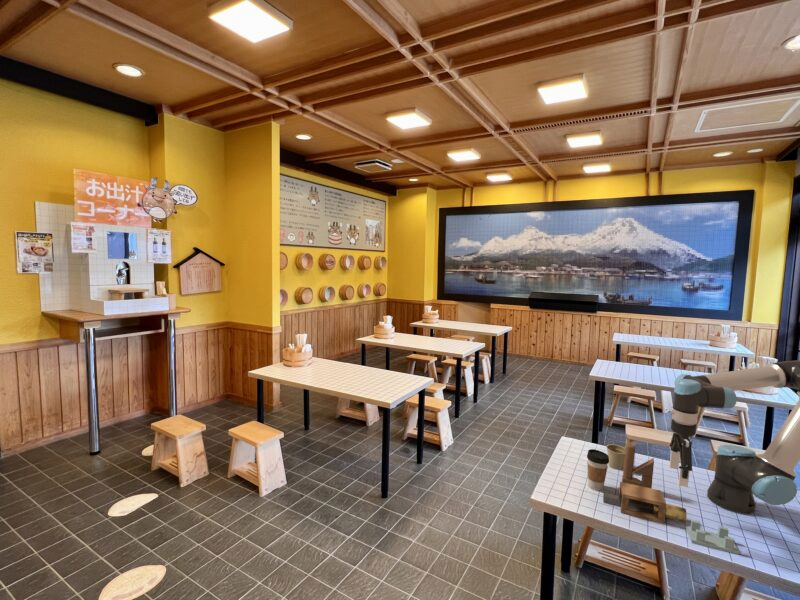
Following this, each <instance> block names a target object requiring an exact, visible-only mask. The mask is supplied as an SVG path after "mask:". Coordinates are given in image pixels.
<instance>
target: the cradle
mask: <svg viewBox="0 0 800 600" xmlns="http://www.w3.org/2000/svg"><path fill="white" fill-rule="evenodd" d="M685 531H686V533H687V535H688V537H689V540H690V542H691V544H696V545H698V546H699V545H700V546H703V547H707V548H711V549H714V550H719V551H723V552H727V553H730V552H731V554H735V555H740V551H739V549H738V548H737V546H736V544H735V543H736V542H735V541H736V540H735V538H733V537H732V536H729V531H730V530H729V529H728V527H725V526H721V525H718V529H717V533H716V532H711V531H707V530H703V529H701V522H700V521H698V520H694V519H691V520H690V526H685Z"/></svg>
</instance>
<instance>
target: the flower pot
mask: <svg viewBox="0 0 800 600" xmlns="http://www.w3.org/2000/svg"><path fill="white" fill-rule="evenodd" d="M605 447H606V452H607V455H608V456H609V463H608V464H607V465H608V466H609V467H610V468H612V469H614V470H617V469H618V470H624V458H625V447H624V446H621V445H618V444H607V445H606V446H605Z"/></svg>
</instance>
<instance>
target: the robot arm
mask: <svg viewBox="0 0 800 600" xmlns="http://www.w3.org/2000/svg"><path fill="white" fill-rule="evenodd" d="M768 387H773V388H776V389H783V388H789V389H794V390H797V392H796V394H797V396H798V397H799V399H798V401H797V402H796V403H795V405H794V407H793V408H792V410H791V411H790V413H789V414H788V416H787V418H786V419H785V421H784V422H783V424H781V427H780V428H779V430H778V432H777V433H776V434H775V436H774V438H773V439H772V441H771V442H770V443H769V445H768V447H767V448H766V450H765V451H764V453H760V454H756V451H754V450H752V449H750V448H747V447H743V446H740V445H733V444H722V445H720V446H718V448H717V451H716V459H715V460H716V461H715V467H714V468H715V470H714V478H713V480H712V482H711V483H710V485H709V486H708V488H707V493H706V497H707V499H708V500H709V501H711V502H712V503H713V504H716V505H717V506H719V507H720V508H722V509H726V510H728V511H731V512H735V513H738V514H746V515H747V514H748V515H749V514H754V513H755V512H756V507H757V505H756V502H755V498H757V499H758V500H761V501H763V502H764V503H766V504H769V505H771V506H772V505H773V506H780V505H787V504H788V503H791V502H792V501H793V500H794V499H795V497H796V496H797V493H798V489H797V488H798V487H797V483H795V482H794V481H795V479H796V477H797V475H796V472H795V468H796V466H797V465H798V463H799V461H800V360H796V359H795V360H786V361H776V362H771V363H766V364H765V365H764V366H759V367H753V368H746V369H740V370H739V369H737V370H731V371H724V372H717V373H709V374H702V375H690V374H686V373H683V374H679V375H677V377H676V378H675V380H674V389H673V393H674V394H673V403H672V404H673V405H672V410H670V414H671V418H672V419H671V420H670V421H671V422H670V429H671V431H672V437H671V441H670V443H669V446H670V450H671V451H670V458H669V468H670V469H673V470H679V474H678V483H677V484H678V485H677V486H678V487H679V486H680V487H685V488H688V487H689V480H690V479H689V478H690V472H693V459H692V446H693V445H692V444H693V442H692V441H691V439H690V438H689V437H690V436H695V435H696V433H697V424H698V417H699V408H708V409H709V408H710V409H711V408H712V409H721V410H723V409H732V408H734V407H735V406H736V405H737V400H738V399H737V394H736V393H735V392H737V391H745V390H753V389H760V388H768ZM754 497H755V498H754Z"/></svg>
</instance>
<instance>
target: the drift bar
mask: <svg viewBox="0 0 800 600" xmlns="http://www.w3.org/2000/svg"><path fill="white" fill-rule="evenodd" d="M602 500H603V501H602V502H603V503H604V504H608V505H611V506H616V507H620V508H621V502H622V497H620V496H619V495H615V494H612V493H607V492H603V496H602ZM628 509H632V510H636V511H641V512H645V513H649V514H653V513H654V507H653V504H649V503H645V502H641V501H637V500H633V499H628Z"/></svg>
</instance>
